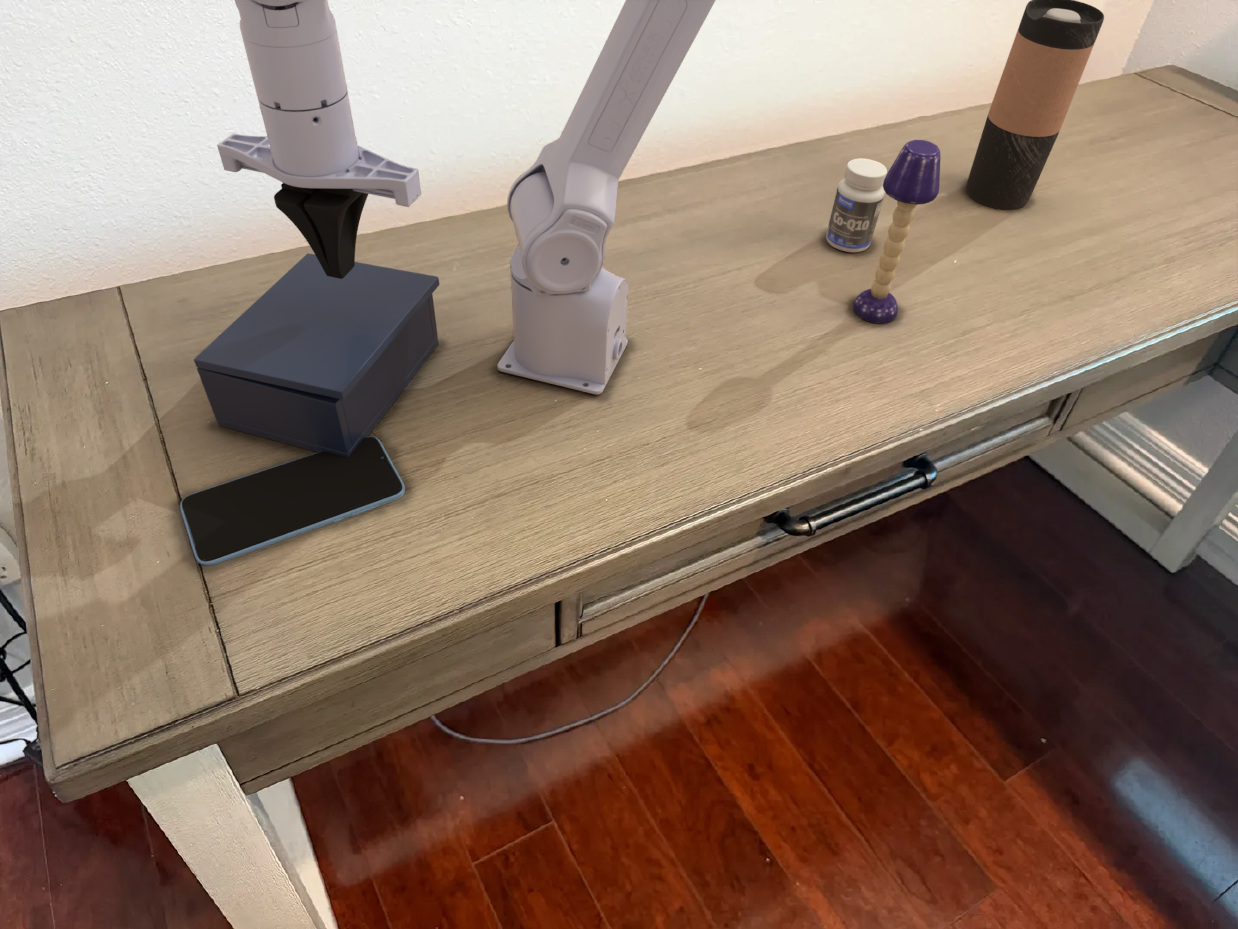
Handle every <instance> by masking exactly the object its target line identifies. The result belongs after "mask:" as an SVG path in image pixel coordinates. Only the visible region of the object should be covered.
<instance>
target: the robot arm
mask: <svg viewBox="0 0 1238 929" xmlns="http://www.w3.org/2000/svg"><path fill="white" fill-rule="evenodd" d="M716 1H717V0H625V1H624V3H623V5H622V8H621V9H620V11H619V14H618V15H617V18H616V19H615V22H614V24H613V26H612V28H611V30H610V32H609V34H608V37H607V38H606V40H605V42H604V44H603V46H602V49H601V51H600V53H599V55H598V57H597V59H596V61H595V63H594V65H593V67H592V69H591V71H590V73H589V75H588V77H587V80H586V81H585V84H584V86H583V88H582V90H581V92H580V94H579V96H578V98H577V100H576V103H575V104H574V106H573V109H572V110H571V113H570V115H569V117H568V119H567V121H566V123H565V125H564V127H563V129H562V131H561V133H560V136H559V137H558V138H556V139H555V140H553V141H551V142H549V143H547V144H546V145H544V146H543V147H542V148H541V150H540V152H539V155H538V156H537V158H536V160H535V161H534V163H533V164H532V165H531V166H530V167H529V168H528V169H527V170H526V171H524V172H523V173H521V174H520V175H519V176H518V177H517V178H516V179H515V180H514V181H513V183H512V185H511V186H510V188H509V191H508V195H507V199H506V207H507V208H506V209H507V212H508V215H509V218H510V220H511V221H512V224H513V227H514V232H515V235H516V240H517V246H516V248H515V250H514V252H513V253H512V255H511V258H510V261H509V269H510V270H509V272H510V288H511V291H510V292H511V309H512V310H511V311H512V328H513V329H512V330H513V331H512V332H513V339H512V340H513V341H512V342H511V343H510V345H509V346H508V348H507V349H506V351H505V352H504V354H503V355H502V357H501V358H500V360H499V361H498V363H497V366H496V368H497V370H498V371H499V372H502V373H505V374H510V375H513V376H518V377H521V378H527V379H531V380H534V381H539V382H542V383H547V384H552V385H555V386H560V387H562V388H566V389H572V390H576V391H579V392H584V393H588V394H592V395H600V394H602V393H603V392H604V391H605V388H606V387H607V384H608V382H609V381H610V378H611V377H612V374H613V372H614V371H615V369H616V367H617V364H618V363H619V361H620V359H621V357H622V356H623V354H624V351H625V350H626V348H627V346H628V338H627V324H628V310H629V309H628V307H629V283H628V281H627V279H626V278H624V277H621V276H620V275H619V276H618V275H616V274H614V273H612V272H610V271H608V270H607V269H606V268H604V264H605V258H606V241H607V238H608V236H609V233H610V232H611V230H612V227H613V226H614V224H615V222H616V213H617V200H618V188H619V182H620V181H619V180H620V178H621V177H622V174H623V172H624V171H625V169H626V168H627V165H628V163H629V161H630V160H631V158H632V156H633V154H634V152H635V151H636V149H637V147H638V145H639V143H640V141H641V139H642V137H643V136H644V134H645V132H646V130H647V128H648V127H649V124H650V123H651V121H652V120H653V117H654V115H655V114H656V111H657V110H658V108H659V106H660V104H661V102H662V101H663V98H664V96H665V95H666V93H667V91H668V90H669V88H670V86H671V84H672V82H673V80H674V78H675V76H676V75H677V73H678V71H679V69H680V68H681V66H682V64H683V62H684V59H686V56H687V54H688V52H689V51H690V49H691V47H692V45H693V44H694V41H695V39H696V37H697V35H698V34H699V32H700V31H701V28H702V27H703V25H704V23H705V21H706V20H707V17H708V15H709V13H710V12H711V10H712V8H713V6H714V4H715V3H716ZM234 4H235V6H236V8H237V10H238V13H239V17H240V20H239V29H240V33H241V34H240V35H241V37H242V42H243V45H244V50H245V55H246V58H247V62H248V66H249V71H250V74H251V78H252V82H253V86H254V89H255V93H256V94H255V95H256V98H257V101H258V106H259V109H260V113H261V117H262V120H263V124H264V129H265V133H266V135H246V134H239V133H232V134H231V135H229V136H227V137H226V138H225V139H223V140H222V141H220V142H219V143H218V144H216V146H217V150H218V153H219V156H220V161H221V164H222V167H223V170H224V171H227V172H232V173H238V172H240V171H241V170H247V171H252V172H257V173H262V174H265V175H267V176H268V177H271V178H273V179H274V180H277V181H279V182H281V184H280V187H281V188H280V189H279V190H278V191H277V192H276V193H275V194H274V196H273V200H274V204H275V207H276V208H277V209H278V210H279V211H280V212H281V213H282V214H284V216H286V218H288V219H289V221H291V223H292V224H293V225H294V226H295V228H297V229H298V231H299V232H300V233H301V235H302V236H303V238H304V240H306V242H307V244H308V245H309V247H310V248H311V250H312V252H313V254H315V255H316V257H317V259H318V261H319V262H320V264H321V266H322V268H323V270H324V272H325V273H326V275H327V276H330V277H334V278H339V279H343V278H344V277H345V276H346V275H347V274H348V273H349V272H350V271H351V270H352V268H353V267H354V266H355V262H356V246H357V237H358V231H359V226H360V221H361V217H362V213H363V210H364V207H365V205H366V201H367V199H368V196H369V195H372V196H376V197H383V198H387V199H393V200H394V201H395V204H396V205H397V206H399V207H406V208H410V206H411V205H413V203H415V202H416V201H417V200H418V199H419V197H420V196H422V188H421V180H420V172H419V169H418V168H416V167H411V166H406V165H403V164H401V163H398V162H396V161H394V160H391V159H390V158H389V159H388V158H387V157H384V156H382V155H380V154H377V153H376V152H374V151H371V150H369V149H367V148H364V147H362V146H360V145H358V138H357V135H356V130H355V125H354V120H353V119H354V118H353V114H352V107H351V103H350V102H351V101H350V96H349V90H348V86H347V85H348V84H347V79H346V74H345V69H344V64H343V56H342V51H341V46H340V40H339V35H338V28H337V24H336V23H337V22H336V18H335V16H334V14H333V12H332V11H331V9H330V7H329V0H234Z"/></svg>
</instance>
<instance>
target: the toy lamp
mask: <svg viewBox="0 0 1238 929" xmlns="http://www.w3.org/2000/svg"><path fill="white" fill-rule="evenodd" d="M940 179H941V149H940V147H939V146H938V145H936V144H935V143H934V142H931V141H929V140H925V139H912V140H909V141H908V142H906V143H905V144H904V145H903V147H902V148H901V150H900V151H899V152H898V154H897V157H896V158H895V160H894V161H893V163H892V165H891V166H890V168H889V170H888V171H887V175H886V177H885V179H884V182H883V188H884V191H885V195H887V196H888V197H890V198H892V199H893V200H895V201H896V207H895V209H894V211H893V213H892V222H891V223H890V225H889V226H888V232H887V234H888V236H887V238H886V239H885V241H884V244H883V251H882V253H881V254H880V257H879V259H878V264H879V266H878V267H877V268H876V271H875V274H874V281H873V282H872V284H871V288H868V289H864V290H863V291H862V292H860V293H859V294H858V295H857V296H856V298H855V299H854V301H853V303H852V309H853V312H854V313H855V315H857V317H859V318H861V319H863V320H865V321H867V322H869V323H873V324H888V323H890V322H892V321H894V320H895V319H896V318H897V316H898V312H899V305H898V301H897V299H896V298H895V297H894V295H893V294H892V293H891V289H892V282H893V281H894V279H895V276H896V269H897V268H898V266H899V264H900V261H901V254H902V253H903V252H904V249H905V245H906V239H907V238H908V235H909V233H910V224H911V223H912V222H913V220H914V216H915V210H914V209H916V207H917V206H918V205H924V204H929V203H931V202H933V201H934V200H936V198H937V197H938V195H939V192H940V181H941V180H940Z"/></svg>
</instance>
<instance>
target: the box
mask: <svg viewBox="0 0 1238 929" xmlns="http://www.w3.org/2000/svg"><path fill="white" fill-rule="evenodd" d="M434 303H435V302H434V294H433V293H432V294H431V296H430V297H429V298H428V299H427V300H426V302H425V303H424V304H423V305H422V306H421V308H420V309H419V310H418V311H417V312H416V314H415V315H414V316H413V317H412V318H411V320H410V321H409V322H408V323H407V324H406V326H405V327H404V328H403V329H402V330H401V332H400V333H399V334H398V335H397V336H396V338H395V339H394V340H393V341H392V342H391V344H390V345H389V346H388V347H387V348H386V350H385V351H384V352H383V353H382V354H381V356H380V357H379V358H378V359H377V360H376V362H375V363H374V364H373V365H372V366H371V367H370V369H369V370H368V371H367V372H366V373H365V375H364V376H363V377H362V378H361V379H360V381H359V382H358V383H357V384H356V385H355V387H354V388H353V389H352V390H351V391H350V393H349V394H348V395H347V396H346V397H345V399H344V400H342V399H337V398H333V397H328V396H324V395H319V394H315V393H310V392H306V391H301V390H297V389H292V388H287V387H283V386H278V385H274V384H269V383H265V382H260V381H256V380H251V379H247V378H242V377H237V376H233V375H228V374H224V373H219V372H215V371H210V370H206V369H201V368H197V367H196V370H197V373H198V376H199V378H200V382H201V384H202V386H203V388H204V392H205V394H206V397H207V399H208V402H209V405H210V407H211V410H212V412H213V415H214V418H215V420H216V423H217V425H218V426H220V427H222V428H223V427H224V428H228V429H230V430H235V431H237V432H242V433H245V434H249V435H253V436H257V437H259V438H264V439H267V440H271V441H273V442H278V443H282V444H285V445H289V446H292V447H297V448H301V449H304V450H308V451H311V452H314V453H317V452H320V451H326V452H329V453H333V454H337V455H340V456H344V457H349V456H350V455H351V453H352V452H353V451H354V449H355V448H356V447H357V446H358V444H359V443H360V442H361V440H362V439H363V438H364V437H368V436H370V434H371V433H372V432H373V430H375V428H376V426H377V425H378V424H379V423H380V422H381V420H382V419H383V418H384V416H385V415H386V414H387V412H388V411H389V410H390V409H391V407H393V404H394V403H395V402H396V401H397V399H398V398H399V397H400V395H401V394H402V393H403V391H404V390H405V389H406V387H407V386H408V385H409V384H410V382H411V381H412V380H413V378H414V377H415V376H416V374H418V372H419V371H420V369H421V368H422V367H423V366H424V364H425V363H426V361H427V360H428V359H429V358H430V356H431V355H432V354H433V352H434V351H435V350H436V348H437V347H438V346H439V335H438V327H437V319H436V318H437V317H436V312H435V304H434Z"/></svg>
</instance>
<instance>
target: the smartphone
mask: <svg viewBox="0 0 1238 929" xmlns="http://www.w3.org/2000/svg"><path fill="white" fill-rule="evenodd" d="M405 492H406V486H405V483H404V481H403V480H402V478H401V476H400V474H399V472H398V470H397V468H396V467H395V465H394V462H393V461H392V459H391V457H390V455H389V454H388V452H387V450H386V448H385V447H384V444H383V442H382V441H381V440H380V439H379V438H378V437H376V436H370V435H369V436H368V437H364V438H363V439H362V440H361V442H360V443H359V444H358V446H357V447H356V448H355V449H354V451H353V452H352V453H351V455H350V456H349V457H344V456H340V455H337V454H333V453H329V452H326V451H320V452H313V453H312V454H308V455H304V456H302V457H299V458H296V459H293V460H290V461H287V462H284V463H281V464H278V465H274V466H271V467H268V468H266V469H263V470H260V471H257V472H256V471H255V472H254V473H250V474H248V475H247V474H246V475H244V476H240V477H238V478H235V479H232V480H229V481H226V482H224V483H219V484H217V485H214V486H211V487H207V488H205V489H202V490H199V491H196V492H193V493H191V494H188V495H186V496H185V497H184V498H183V499H181V501H180V504H179V509H180V510H179V511H180V513H181V516H182V520H183V523H184V526H185V529H186V533H187V537H188V539H189V542H190V545H191V549H192V552H193V555H194V558H195V561H196V562H197V563H198V564H199V565H201V566H205V567H208V566H215V565H217V564H220V563H224V562H226V561H230V560H232V559H235V558H238V557H241V556H243V555H245V554H249V553H251V552H254V551H258V550H260V549H263V548H265V547H269V546H271V545H274V544H277V543H280V542H283V541H285V540H288V539H292V538H294V537H296V536H299V535H302V534H306V533H308V532H310V531H314V530H316V529H319V528H322V527H324V526H327V525H330V524H336V523H338V522H341V521H343V520H344V519H347V518H350V517H355V516H357V515H361V514H362V513H366V512H368V511H371V510H375V509H377V508H380V507H381V506H384V505H386V504H389V503H393V502H395V501H397V500H399V499H401V498H402V497H403V496H404V495H405Z"/></svg>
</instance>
